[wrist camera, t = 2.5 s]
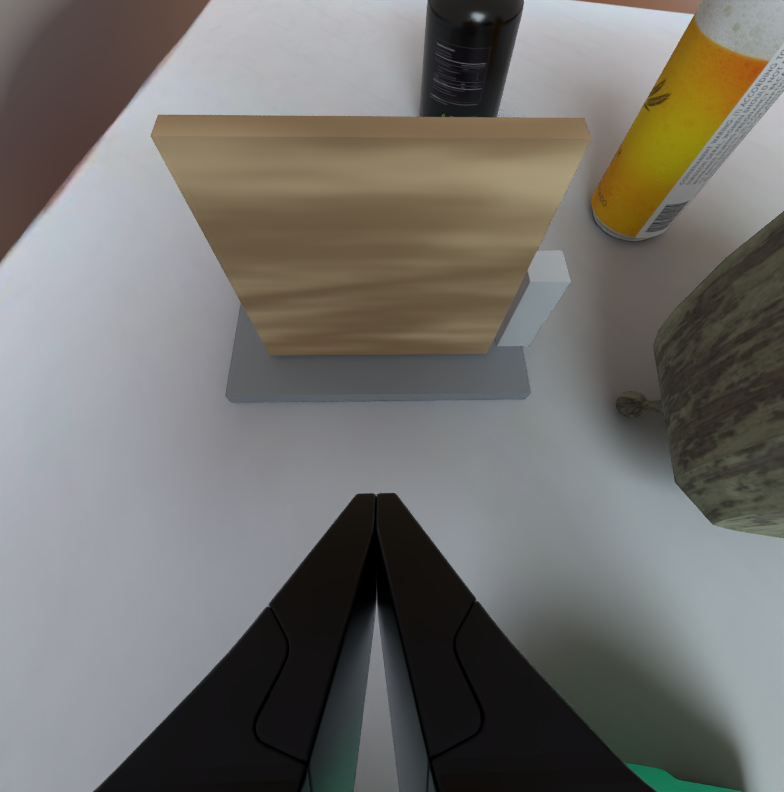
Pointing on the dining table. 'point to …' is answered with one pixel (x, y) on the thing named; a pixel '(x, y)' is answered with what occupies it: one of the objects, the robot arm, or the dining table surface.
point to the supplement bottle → (467, 56)
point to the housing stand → (405, 358)
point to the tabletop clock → (727, 388)
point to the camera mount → (671, 781)
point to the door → (373, 221)
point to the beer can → (694, 116)
